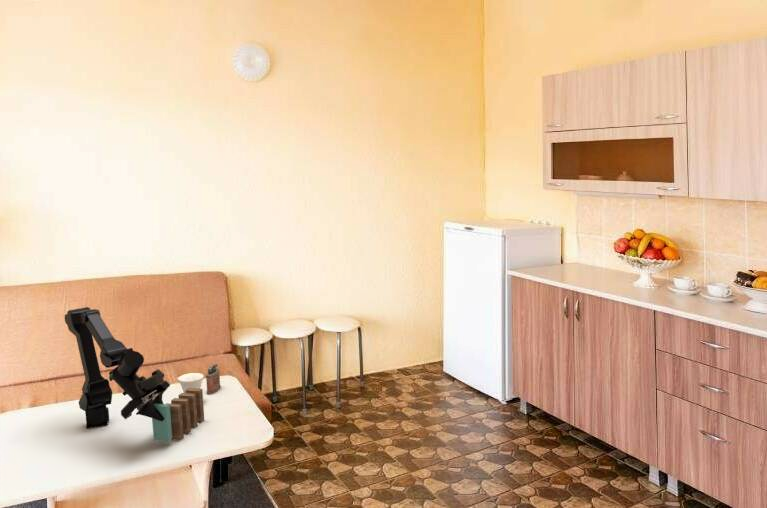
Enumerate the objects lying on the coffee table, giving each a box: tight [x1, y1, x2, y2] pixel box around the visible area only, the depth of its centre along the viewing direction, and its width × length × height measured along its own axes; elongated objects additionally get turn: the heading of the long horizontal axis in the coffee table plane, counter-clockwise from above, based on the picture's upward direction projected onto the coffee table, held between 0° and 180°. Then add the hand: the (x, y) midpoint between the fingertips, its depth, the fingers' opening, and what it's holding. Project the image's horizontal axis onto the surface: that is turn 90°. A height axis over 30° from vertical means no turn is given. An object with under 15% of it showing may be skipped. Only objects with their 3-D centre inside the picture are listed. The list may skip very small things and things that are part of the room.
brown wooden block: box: [170, 397, 192, 435], centre depth 193 cm, size 2×5×11 cm, turn 79°
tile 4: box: [166, 403, 185, 441], centre depth 189 cm, size 2×5×11 cm, turn 79°
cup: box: [176, 372, 205, 393], centre depth 218 cm, size 9×9×10 cm
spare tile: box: [151, 403, 172, 442], centre depth 184 cm, size 2×5×11 cm, turn 79°
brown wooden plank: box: [178, 392, 199, 429], centre depth 197 cm, size 2×5×11 cm, turn 79°
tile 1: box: [186, 388, 205, 424], centre depth 202 cm, size 2×5×11 cm, turn 79°
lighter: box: [205, 362, 222, 396], centre depth 230 cm, size 8×3×10 cm, turn 168°
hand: (165, 418), depth 184 cm, fingers closed on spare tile, 2 cm apart
